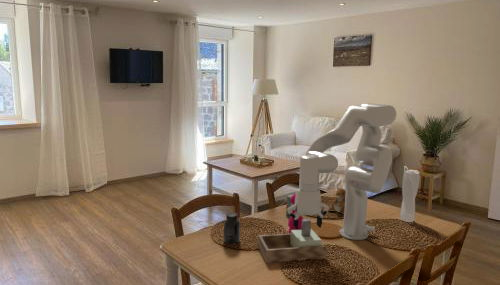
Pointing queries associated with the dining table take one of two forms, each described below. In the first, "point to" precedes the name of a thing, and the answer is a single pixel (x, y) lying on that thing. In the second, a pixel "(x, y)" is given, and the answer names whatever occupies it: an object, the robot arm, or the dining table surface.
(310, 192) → the robot arm
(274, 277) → the dining table surface
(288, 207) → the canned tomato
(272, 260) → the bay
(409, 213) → the skyscraper
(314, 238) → the base with upright peg
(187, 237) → the dining table surface
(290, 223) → the pepper mill
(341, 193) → the stuffed squirrel
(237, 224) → the supplement bottle
